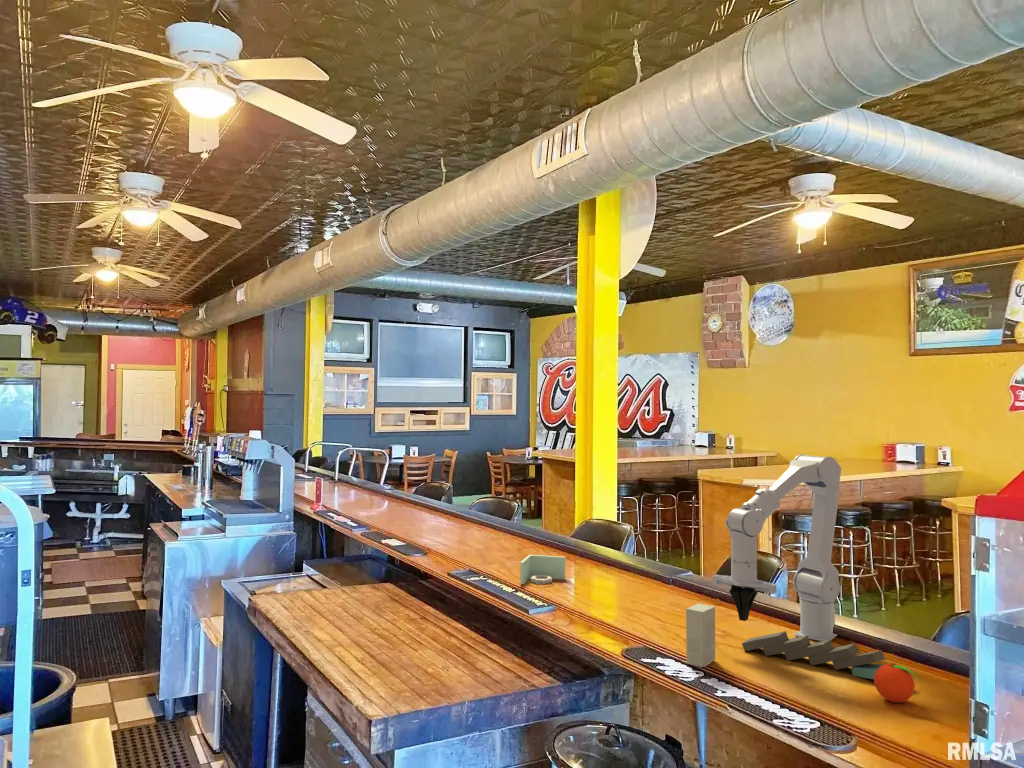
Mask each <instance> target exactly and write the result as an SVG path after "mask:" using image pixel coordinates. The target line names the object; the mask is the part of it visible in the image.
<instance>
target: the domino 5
mask: <svg viewBox="0 0 1024 768" xmlns="http://www.w3.org/2000/svg"><path fill="white" fill-rule="evenodd" d="M884 660H886V658H885V655H884V652H883V650H876V651H870V652H866V653H861V654H855V655H854V656H852V657H850V658H845V659H840V660H835V661H831V662H832V665H833V668H834V670H835V671H836V670H841V669H846V668H852V667H853V666H858V665H864V664H869V663H873V664H876V663H878V662H880V661H884Z"/></svg>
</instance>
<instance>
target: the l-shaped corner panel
mask: <svg viewBox="0 0 1024 768" xmlns="http://www.w3.org/2000/svg"><path fill="white" fill-rule="evenodd" d="M519 566H520V573H519V574H520V576H519V582H520V584H523V585H525V584H526V583H527V581H529V580H530V583H532V582H533V583H532V584H535V583H536V584H535V585H541V584H542V585H548V583H549V584H552V582H553V579H554V580H566V556H554V555H541V554H528V555H527V556H526V557H525V558H523V559H522V560H521V561H520V565H519ZM546 583H547V584H546Z"/></svg>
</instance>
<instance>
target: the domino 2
mask: <svg viewBox="0 0 1024 768" xmlns="http://www.w3.org/2000/svg"><path fill="white" fill-rule="evenodd" d="M810 640H811V639H809V638H808V635H806V636H801V637H798V636H796V637H793V638H788V640H787V641H785V642H784V643H782V644H779V645H774V646H769V647H764V648H762V650H763V653H764V655H765V657H768V656H772V655H774V656H775V655H777V654H783V653H784V652H789V651H794V650H799V649H804V648H805V647H806V646H808V645H809V644H811V641H810ZM784 654H785V653H784Z"/></svg>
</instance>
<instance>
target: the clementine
mask: <svg viewBox="0 0 1024 768" xmlns="http://www.w3.org/2000/svg"><path fill="white" fill-rule="evenodd" d="M882 665H883V666H881V667H880V668H879V669H878V670H877V671H876V673H875V676H874V679H873V682H874V687H875V689H876V691H877V692H878V694H879V695H880V696H881V697H882V698H884V699H885V700H886V701H888V702H892V703H903V702H906V701H908V700H909V699H910V698H912V696H913V694H914V692H915V680H914V678H913V676H914V677H915V678H916V679H917V680H918V682H919V684H921V681H920V680H919V678H918V676H917V675H916V674H915V672H913V671H912V670H911V669H909V668H908V667H905V666H903V665H899V664H896V663H893V662H892V663H886V664H882ZM912 675H913V676H912Z"/></svg>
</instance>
